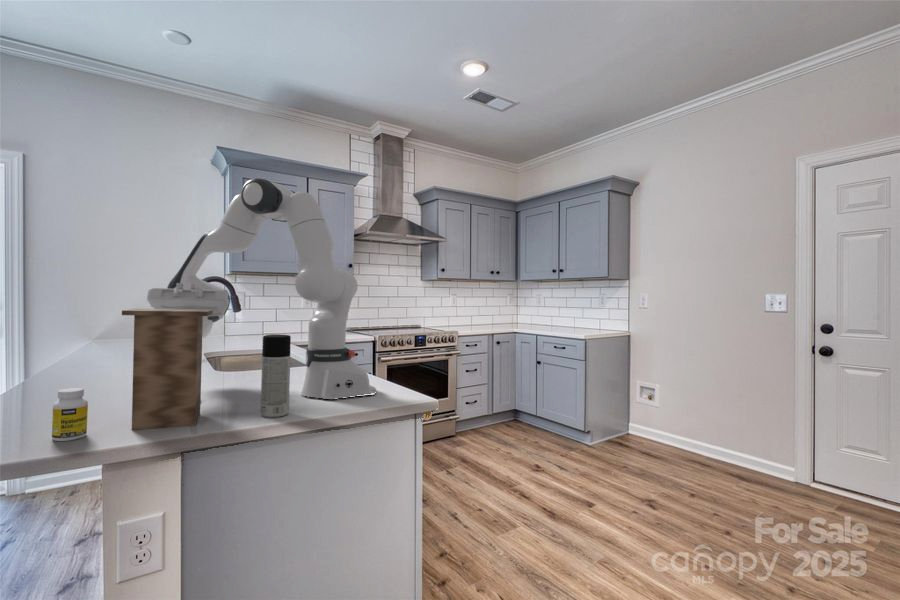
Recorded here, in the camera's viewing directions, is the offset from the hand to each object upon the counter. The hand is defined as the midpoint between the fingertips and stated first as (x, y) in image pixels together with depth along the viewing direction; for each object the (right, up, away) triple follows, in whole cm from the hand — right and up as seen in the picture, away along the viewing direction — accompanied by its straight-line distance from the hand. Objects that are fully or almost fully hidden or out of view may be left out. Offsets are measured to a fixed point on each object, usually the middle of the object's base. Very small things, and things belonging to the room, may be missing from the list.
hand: (186, 285), depth 122 cm
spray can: (+29, -33, -12) cm, 46 cm away
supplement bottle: (-4, -32, -33) cm, 46 cm away
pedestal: (+8, -32, -20) cm, 39 cm away
